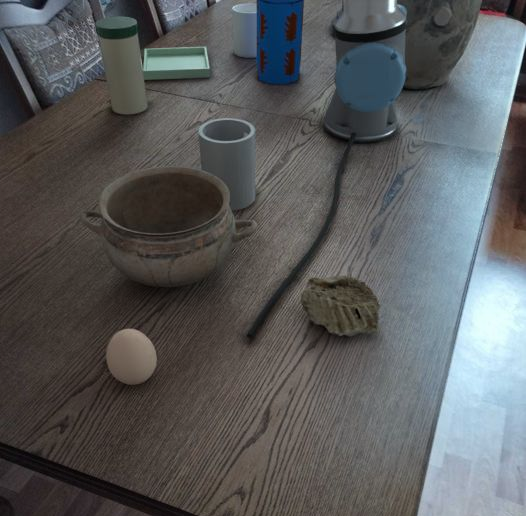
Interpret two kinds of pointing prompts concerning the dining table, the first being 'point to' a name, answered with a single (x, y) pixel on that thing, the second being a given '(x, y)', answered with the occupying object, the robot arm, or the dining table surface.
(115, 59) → the jar
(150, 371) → the egg
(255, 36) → the mug
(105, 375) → the dining table surface
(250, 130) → the cup
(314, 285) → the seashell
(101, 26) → the lid
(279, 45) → the thermos
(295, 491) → the dining table surface
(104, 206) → the cooking pot
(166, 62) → the tray
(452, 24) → the clay pot
